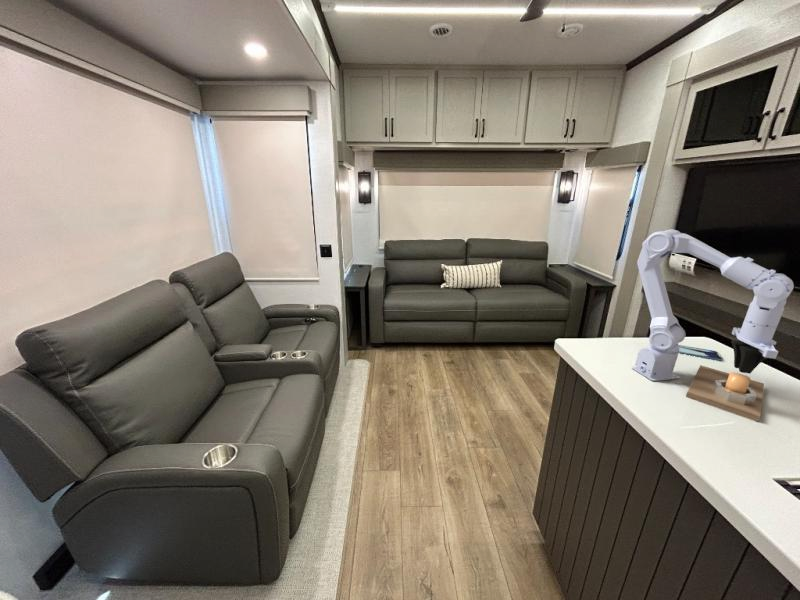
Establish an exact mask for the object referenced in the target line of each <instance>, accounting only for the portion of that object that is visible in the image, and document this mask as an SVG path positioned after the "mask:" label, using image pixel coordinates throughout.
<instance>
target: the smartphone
mask: <svg viewBox="0 0 800 600" xmlns="http://www.w3.org/2000/svg"><path fill="white" fill-rule="evenodd" d="M678 346H679V349H680V350H679V353H680V355H684V354H686V355H685V356H689V355H690V357H694V356H695V358H699V357H700V358H701V359H705V360H710V359H711V361H715V360H716V361H717V362H723V360H724V359H723V357H722V356H721V354H720V353H719V352H718V351H717V350H712V349H706V348H699V347H694V346H693V347H692V346H687V345H681V344H678ZM716 361H715V362H716Z"/></svg>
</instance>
